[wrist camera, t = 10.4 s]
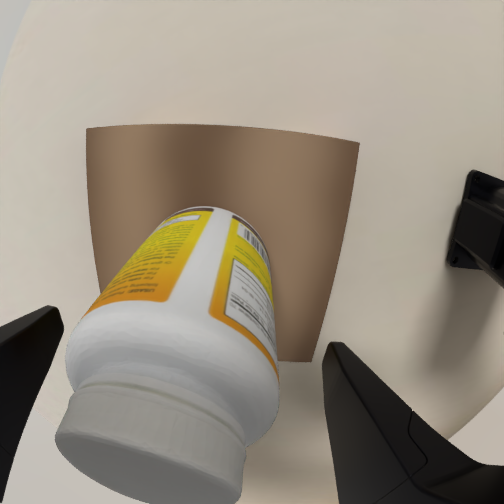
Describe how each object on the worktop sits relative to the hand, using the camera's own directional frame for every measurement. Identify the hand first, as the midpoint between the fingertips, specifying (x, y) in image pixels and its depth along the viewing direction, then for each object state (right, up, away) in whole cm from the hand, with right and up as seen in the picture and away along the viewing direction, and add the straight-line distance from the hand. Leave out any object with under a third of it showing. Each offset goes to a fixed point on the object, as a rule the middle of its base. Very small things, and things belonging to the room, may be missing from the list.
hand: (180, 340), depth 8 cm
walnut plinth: (0, +3, +8) cm, 8 cm away
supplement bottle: (0, +2, +5) cm, 6 cm away
